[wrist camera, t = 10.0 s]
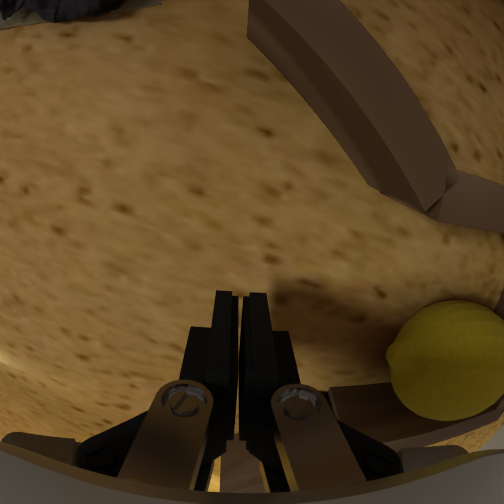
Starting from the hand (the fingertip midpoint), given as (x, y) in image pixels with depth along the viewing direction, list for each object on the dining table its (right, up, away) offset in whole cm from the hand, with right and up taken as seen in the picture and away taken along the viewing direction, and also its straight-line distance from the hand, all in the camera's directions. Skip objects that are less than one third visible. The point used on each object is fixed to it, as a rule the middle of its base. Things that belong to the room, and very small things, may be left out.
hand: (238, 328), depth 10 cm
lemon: (+6, -1, 0) cm, 6 cm away
